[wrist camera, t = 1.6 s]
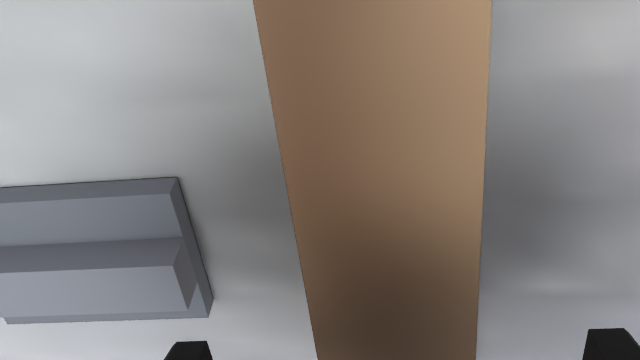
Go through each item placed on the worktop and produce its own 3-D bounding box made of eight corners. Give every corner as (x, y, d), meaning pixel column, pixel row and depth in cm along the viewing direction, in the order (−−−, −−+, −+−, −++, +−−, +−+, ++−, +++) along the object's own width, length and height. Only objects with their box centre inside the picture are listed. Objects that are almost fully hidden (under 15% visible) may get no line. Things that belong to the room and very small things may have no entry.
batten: (449, -147, 13) (496, -94, 8) (447, 355, 22) (468, 512, 17) (283, -128, 13) (241, -65, 9) (349, 358, 22) (345, 512, 18)
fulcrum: (176, 177, 18) (157, 220, 16) (213, 299, 20) (200, 346, 19) (-47, 190, 18) (-88, 233, 17) (18, 306, 21) (-11, 352, 20)
